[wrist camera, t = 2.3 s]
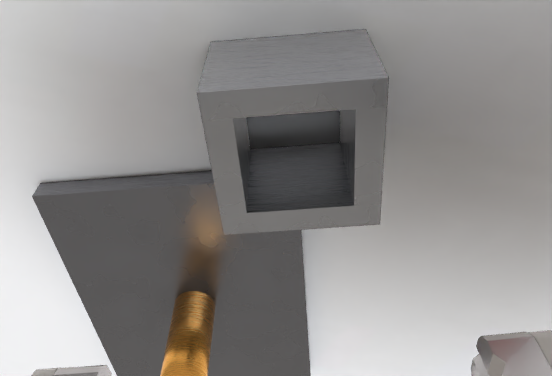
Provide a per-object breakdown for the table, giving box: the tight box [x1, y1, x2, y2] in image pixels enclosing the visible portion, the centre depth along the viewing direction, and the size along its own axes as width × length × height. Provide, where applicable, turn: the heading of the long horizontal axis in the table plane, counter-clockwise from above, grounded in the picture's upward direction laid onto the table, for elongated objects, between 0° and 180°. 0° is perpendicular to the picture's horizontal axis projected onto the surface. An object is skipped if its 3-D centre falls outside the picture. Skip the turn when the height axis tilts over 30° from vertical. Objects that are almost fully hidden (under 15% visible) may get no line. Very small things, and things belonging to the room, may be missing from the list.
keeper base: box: [32, 171, 310, 376], centre depth 24 cm, size 12×16×8 cm
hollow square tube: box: [197, 29, 389, 235], centre depth 19 cm, size 6×6×4 cm
